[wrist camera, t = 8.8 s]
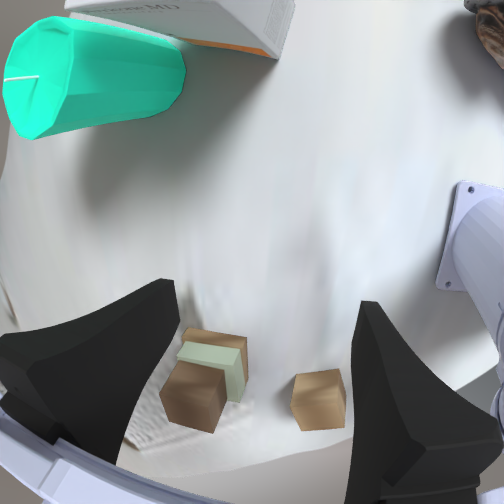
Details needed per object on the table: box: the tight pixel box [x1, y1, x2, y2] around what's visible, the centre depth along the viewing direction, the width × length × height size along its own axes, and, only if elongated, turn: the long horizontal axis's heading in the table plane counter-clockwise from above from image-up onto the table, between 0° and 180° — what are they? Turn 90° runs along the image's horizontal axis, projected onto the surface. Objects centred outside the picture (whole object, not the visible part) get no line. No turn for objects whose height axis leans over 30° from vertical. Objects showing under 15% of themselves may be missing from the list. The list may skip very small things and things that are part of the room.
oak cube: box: [290, 369, 346, 431], centre depth 25 cm, size 4×4×4 cm
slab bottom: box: [182, 327, 248, 386], centre depth 28 cm, size 6×6×2 cm
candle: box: [2, 16, 186, 140], centre depth 13 cm, size 6×6×12 cm
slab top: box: [176, 341, 245, 403], centre depth 26 cm, size 5×5×2 cm
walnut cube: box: [159, 360, 227, 434], centre depth 23 cm, size 4×4×4 cm
